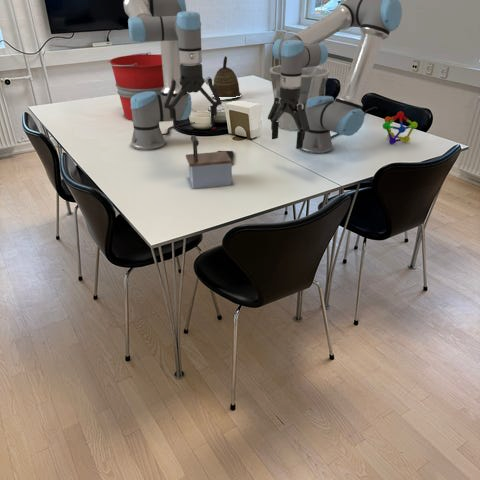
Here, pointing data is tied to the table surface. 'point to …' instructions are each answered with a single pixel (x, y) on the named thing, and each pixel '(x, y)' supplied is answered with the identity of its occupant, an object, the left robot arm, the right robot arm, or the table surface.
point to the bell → (226, 82)
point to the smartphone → (229, 154)
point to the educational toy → (398, 128)
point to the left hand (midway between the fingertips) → (194, 126)
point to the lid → (206, 156)
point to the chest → (210, 175)
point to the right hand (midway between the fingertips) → (286, 143)
